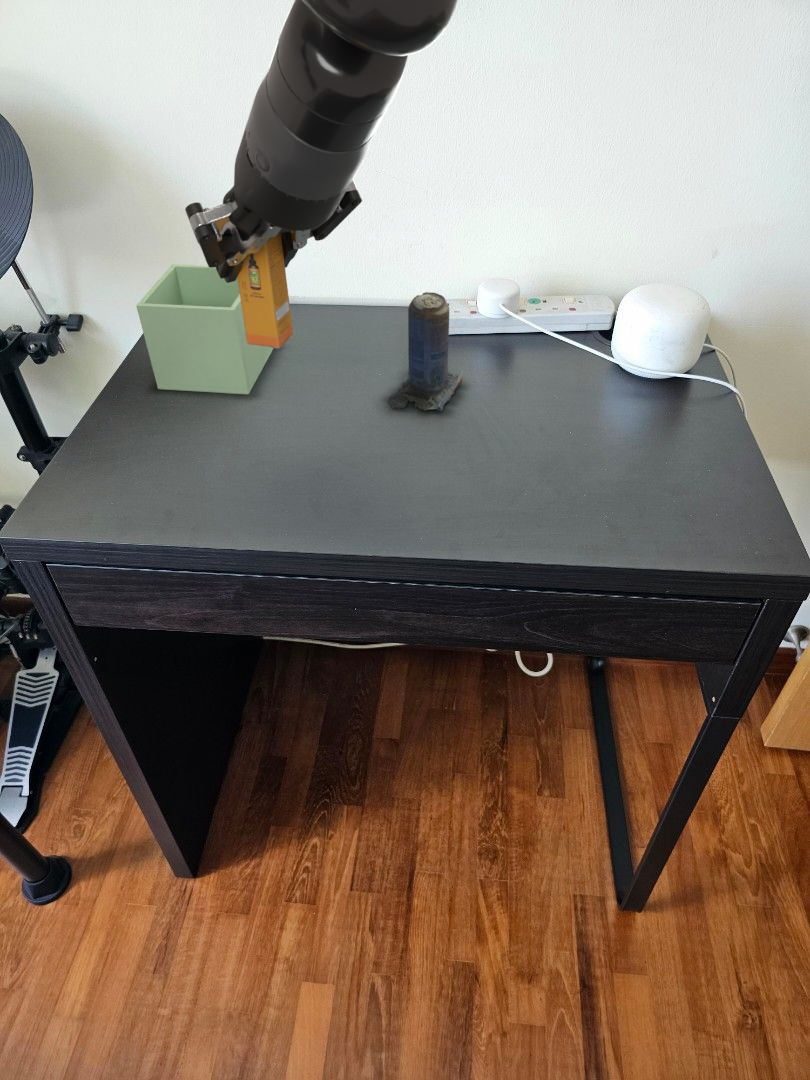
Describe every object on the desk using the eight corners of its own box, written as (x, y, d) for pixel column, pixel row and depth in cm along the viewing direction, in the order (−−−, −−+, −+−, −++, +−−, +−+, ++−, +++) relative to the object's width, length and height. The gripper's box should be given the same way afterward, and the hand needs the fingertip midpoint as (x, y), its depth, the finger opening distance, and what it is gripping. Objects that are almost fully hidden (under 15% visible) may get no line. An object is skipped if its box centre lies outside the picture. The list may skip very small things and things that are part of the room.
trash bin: (248, 394, 93) (234, 309, 86) (157, 389, 94) (135, 305, 87) (273, 348, 101) (262, 267, 94) (189, 344, 102) (172, 264, 95)
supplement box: (296, 333, 70) (283, 218, 64) (279, 350, 68) (263, 234, 61) (263, 327, 71) (246, 214, 65) (245, 345, 69) (225, 229, 62)
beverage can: (451, 417, 88) (454, 317, 80) (384, 410, 90) (380, 311, 82) (464, 376, 95) (468, 280, 87) (402, 370, 96) (400, 275, 88)
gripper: (374, 74, 54) (307, 207, 70) (176, 106, 48) (152, 243, 64) (418, 176, 54) (341, 285, 70) (226, 219, 49) (190, 328, 64)
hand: (251, 264), depth 67 cm, fingers closed on supplement box, 4 cm apart
